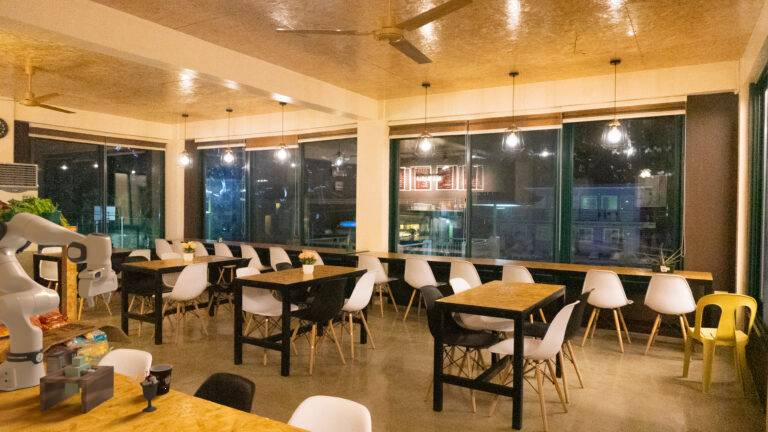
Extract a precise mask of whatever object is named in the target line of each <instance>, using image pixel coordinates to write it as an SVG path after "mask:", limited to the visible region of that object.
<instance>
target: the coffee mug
mask: <svg viewBox="0 0 768 432" xmlns="http://www.w3.org/2000/svg"><path fill="white" fill-rule="evenodd" d="M148 370H149V371H148V373H149V374H152V375H154V376H155V375H157V376H158V377H159V378H158V380H159V383H158V384H157V390H156V395H155V396H163V395H166V394H168V393H170V389H171V380H172V371H173V365H172V364H167V363H166V364H165V363H164V364H163V363H162V364H156V365H153V366H150V367H149V368H148ZM165 388H166V389H165Z"/></svg>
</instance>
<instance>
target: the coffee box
mask: <svg viewBox="0 0 768 432" xmlns="http://www.w3.org/2000/svg"><path fill="white" fill-rule="evenodd" d="M45 356H46V357H45V358H46V359H45V361H46V363H45V366H46V369H45V370H46V371H45V375H48V374H50V373H53V372H55V371H57V370H59V369H62V368H64V367H66V366H68V365H72V358H74V357H77V356H78V349H76V350H75V349H63V350H60V351H55V352H53V353H50V354H47V355H45Z"/></svg>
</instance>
